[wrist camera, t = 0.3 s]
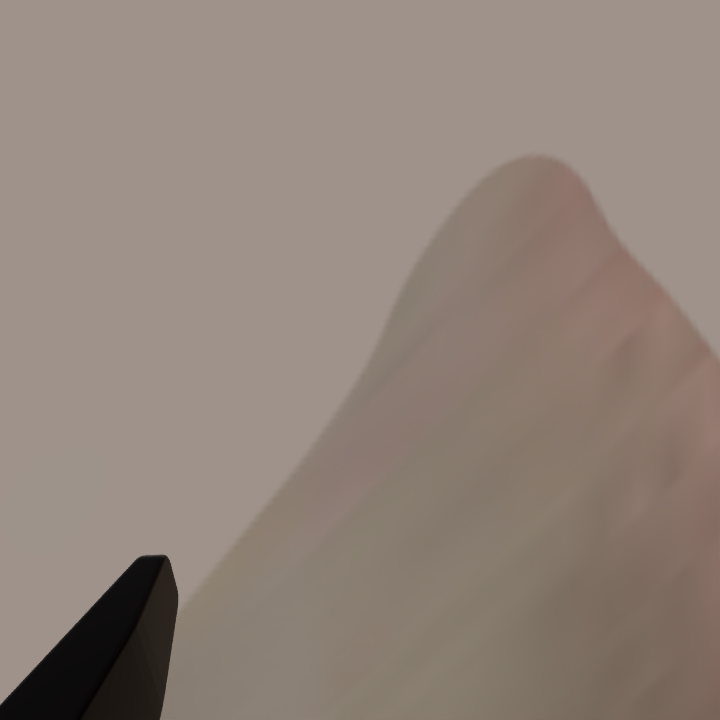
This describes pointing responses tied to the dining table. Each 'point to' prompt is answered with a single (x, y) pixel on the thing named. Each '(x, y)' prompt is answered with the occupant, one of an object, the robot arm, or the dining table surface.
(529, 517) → the dining table surface
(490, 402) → the dining table surface
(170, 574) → the robot arm
